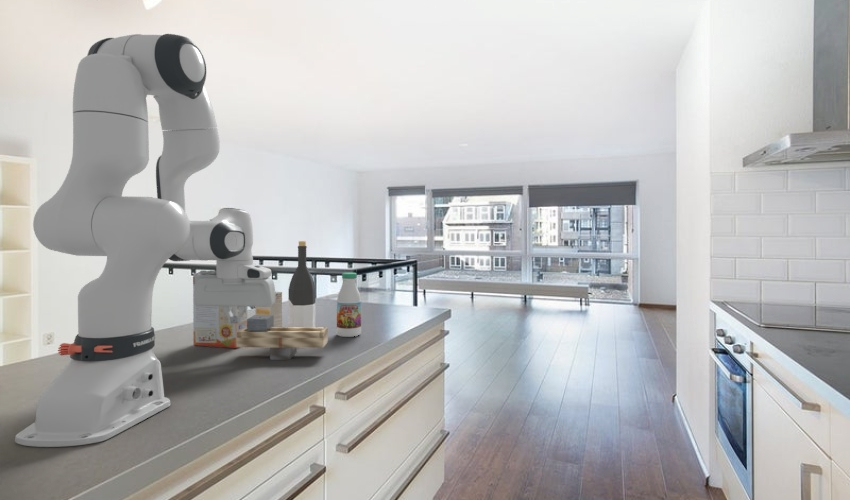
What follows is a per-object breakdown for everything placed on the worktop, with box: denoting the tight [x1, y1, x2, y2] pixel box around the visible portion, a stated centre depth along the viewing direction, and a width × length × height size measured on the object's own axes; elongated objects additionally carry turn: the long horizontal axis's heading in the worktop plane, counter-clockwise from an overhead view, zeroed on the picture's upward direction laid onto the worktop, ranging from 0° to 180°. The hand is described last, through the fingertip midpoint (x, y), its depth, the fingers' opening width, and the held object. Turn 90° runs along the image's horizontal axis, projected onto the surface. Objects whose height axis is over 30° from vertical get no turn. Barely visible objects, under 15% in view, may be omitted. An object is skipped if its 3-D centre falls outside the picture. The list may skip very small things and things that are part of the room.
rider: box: [247, 314, 274, 331], centre depth 115 cm, size 5×6×5 cm
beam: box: [237, 326, 329, 361], centre depth 116 cm, size 22×7×7 cm, turn 92°
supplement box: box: [254, 290, 283, 327], centre depth 144 cm, size 8×5×13 cm, turn 58°
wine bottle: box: [287, 240, 316, 327], centre depth 135 cm, size 8×8×30 cm
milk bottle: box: [336, 272, 362, 338], centre depth 140 cm, size 8×8×20 cm
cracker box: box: [192, 272, 248, 349], centre depth 126 cm, size 14×6×21 cm, turn 76°
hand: (235, 323), depth 115 cm, fingers closed
